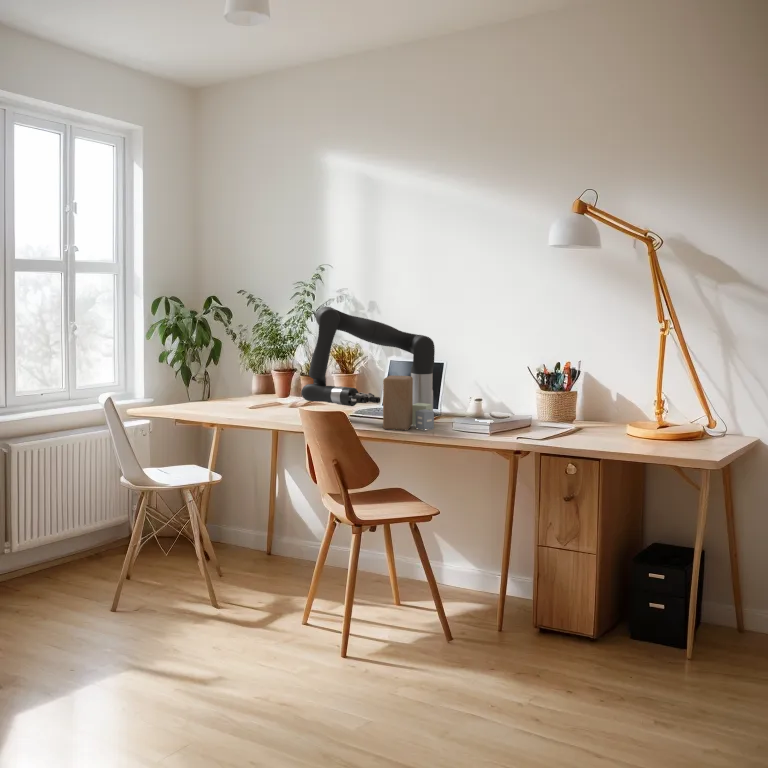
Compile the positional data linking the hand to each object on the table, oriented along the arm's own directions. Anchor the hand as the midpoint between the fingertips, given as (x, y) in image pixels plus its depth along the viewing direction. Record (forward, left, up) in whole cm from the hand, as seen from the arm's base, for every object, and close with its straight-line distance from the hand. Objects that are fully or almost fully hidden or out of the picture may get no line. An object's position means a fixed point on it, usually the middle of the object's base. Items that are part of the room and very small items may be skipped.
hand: (379, 400), depth 335 cm
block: (0, +9, -10) cm, 14 cm away
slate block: (-5, +18, -10) cm, 21 cm away
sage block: (-12, +12, -10) cm, 20 cm away
